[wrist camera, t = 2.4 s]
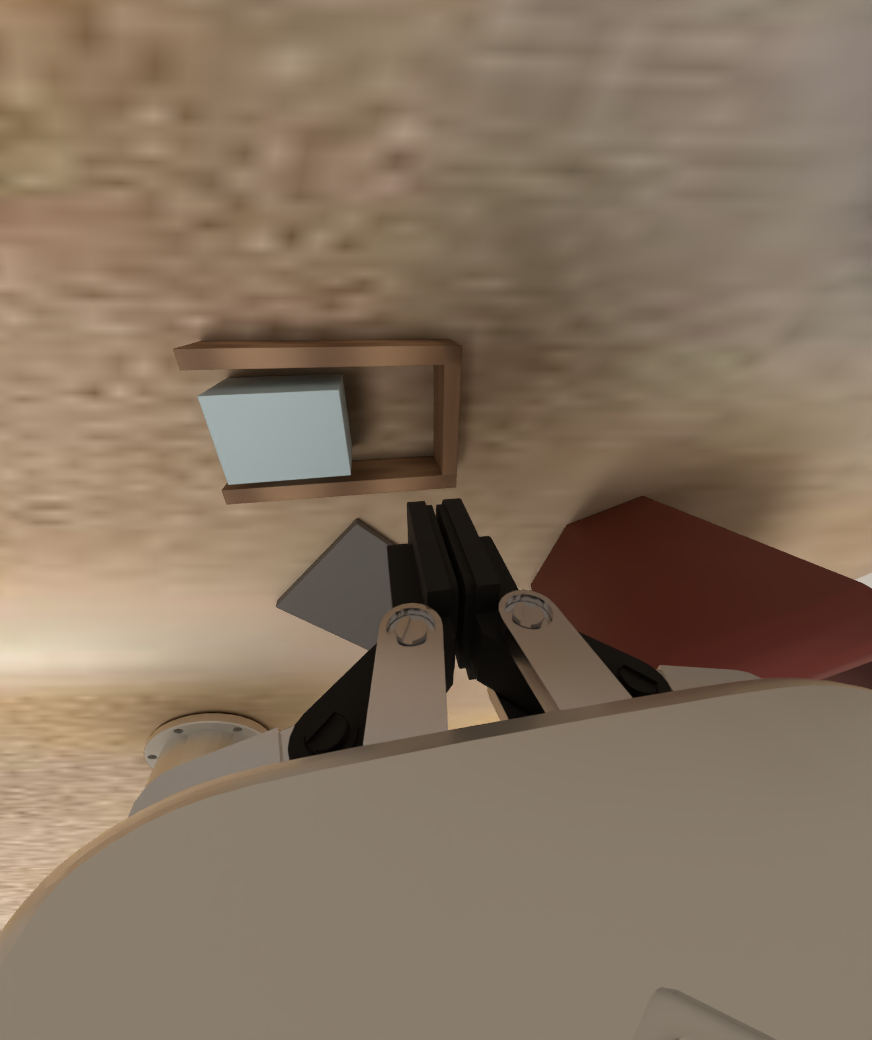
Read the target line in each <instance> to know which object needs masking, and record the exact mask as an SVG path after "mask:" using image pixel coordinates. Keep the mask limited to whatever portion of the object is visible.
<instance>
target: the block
mask: <svg viewBox="0 0 872 1040" xmlns="http://www.w3.org/2000/svg"><path fill="white" fill-rule="evenodd" d="M198 399H199V402H200V405H201V408H202V411H203V413H204V416H205V419H206V422H207V425H208V428H209V431H210V434H211V436H212V439H213V442H214V445H215V448H216V451H217V454H218V457H219V459H220V462H221V465H222V468H223V471H224V474H225V477H226V480H227V482H228V485H232V484H245V483H258V482H270V481H283V480H295V479H308V478H320V477H333V476H346V475H351V463H352V441H351V434H350V427H349V419H348V412H347V405H346V397H345V390H344V383H343V375H342V374H318V375H292V376H266V377H240V378H226V379H225V380H223V381H221V382H220V383H218V384H217V385H215V386H213V387H212V388H210V389H208V390H207V391H205V392H204V393H202V394H200V395H199V396H198Z"/></svg>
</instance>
